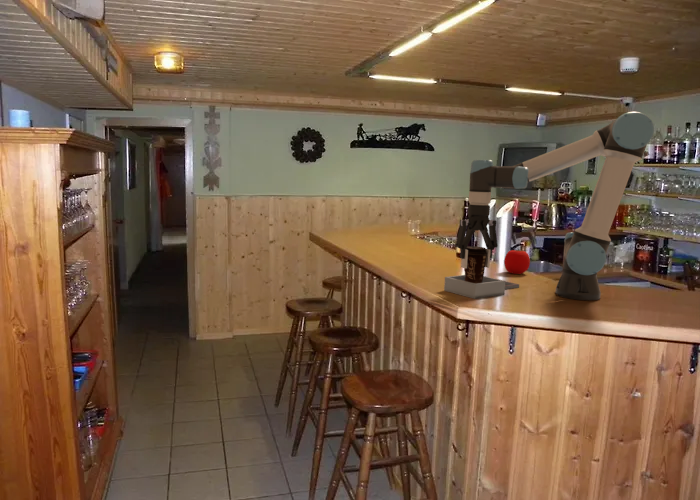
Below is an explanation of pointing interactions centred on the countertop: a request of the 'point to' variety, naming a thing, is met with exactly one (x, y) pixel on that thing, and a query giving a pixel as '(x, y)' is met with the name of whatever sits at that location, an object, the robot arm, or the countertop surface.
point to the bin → (474, 287)
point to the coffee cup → (475, 264)
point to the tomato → (517, 261)
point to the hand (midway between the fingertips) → (475, 267)
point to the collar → (511, 285)
